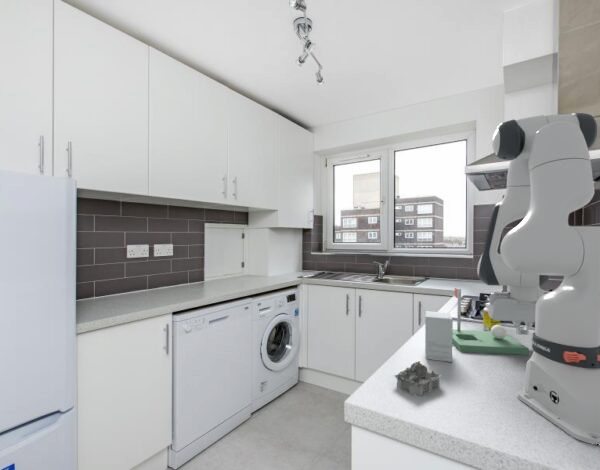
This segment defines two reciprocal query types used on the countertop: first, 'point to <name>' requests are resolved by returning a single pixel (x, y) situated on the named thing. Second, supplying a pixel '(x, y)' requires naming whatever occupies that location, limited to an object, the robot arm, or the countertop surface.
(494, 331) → the ball
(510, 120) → the robot arm
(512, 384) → the countertop surface
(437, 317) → the supplement box
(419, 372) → the egg carton
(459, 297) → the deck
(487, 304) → the supplement bottle
